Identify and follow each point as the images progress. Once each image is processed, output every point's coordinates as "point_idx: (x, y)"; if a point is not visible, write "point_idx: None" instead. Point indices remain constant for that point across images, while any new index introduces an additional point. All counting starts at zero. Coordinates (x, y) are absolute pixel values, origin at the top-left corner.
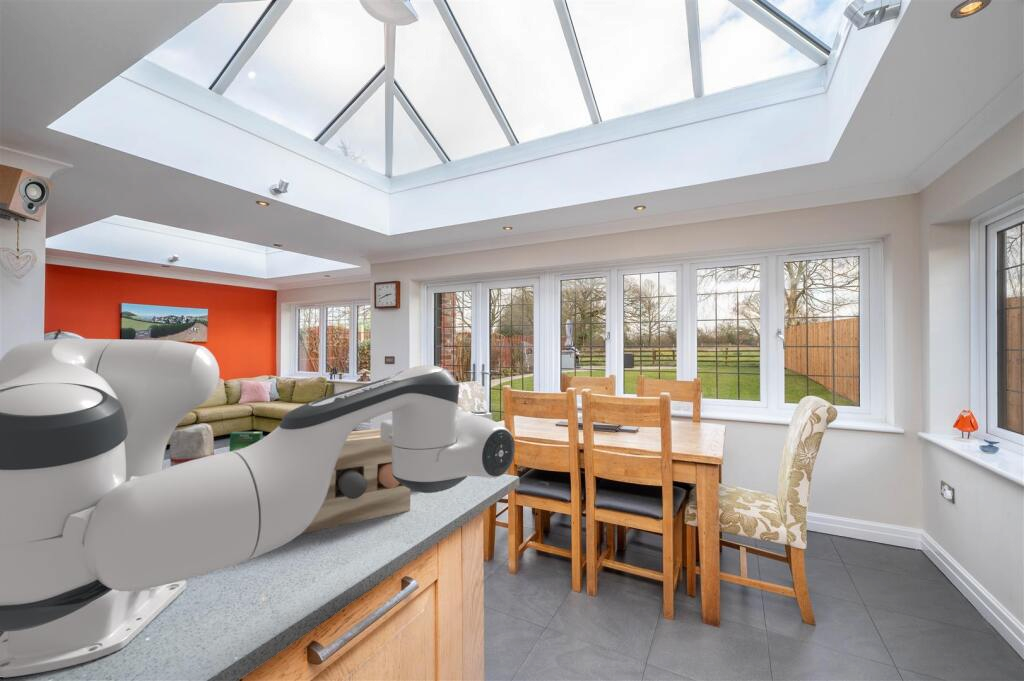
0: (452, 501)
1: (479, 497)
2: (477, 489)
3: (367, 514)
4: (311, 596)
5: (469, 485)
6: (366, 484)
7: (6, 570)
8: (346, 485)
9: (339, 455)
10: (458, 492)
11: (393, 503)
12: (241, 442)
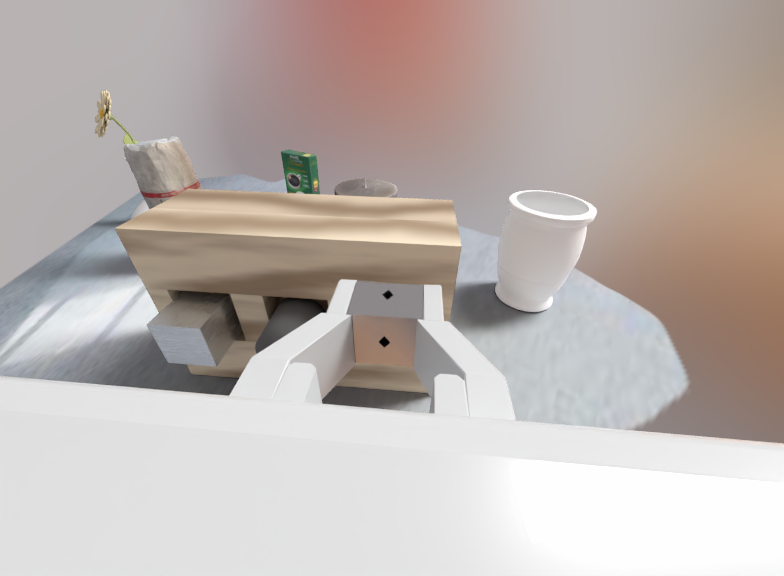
0: (544, 402)
1: (619, 418)
2: (620, 375)
3: (346, 380)
4: None
5: (603, 349)
6: None
7: None
8: (262, 348)
9: (262, 267)
10: (569, 368)
11: (401, 376)
12: (293, 166)
